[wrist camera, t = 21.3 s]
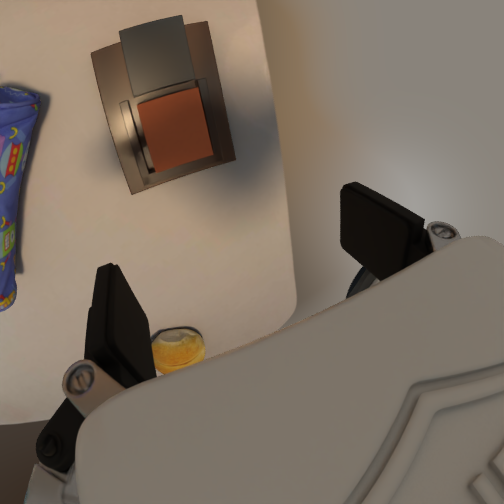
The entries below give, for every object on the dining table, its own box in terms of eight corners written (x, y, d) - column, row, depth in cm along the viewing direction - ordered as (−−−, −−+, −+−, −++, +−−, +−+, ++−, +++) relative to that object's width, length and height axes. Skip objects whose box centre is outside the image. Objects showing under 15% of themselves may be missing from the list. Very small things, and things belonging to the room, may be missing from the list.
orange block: (190, 89, 22) (198, 87, 19) (203, 147, 25) (213, 154, 22) (137, 104, 21) (136, 105, 18) (153, 163, 24) (156, 173, 21)
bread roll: (155, 368, 40) (159, 388, 37) (145, 331, 36) (148, 353, 32) (204, 360, 43) (210, 379, 40) (202, 322, 39) (209, 343, 35)
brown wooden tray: (204, 23, 19) (219, 9, 15) (232, 157, 28) (250, 169, 24) (92, 54, 17) (81, 45, 13) (131, 191, 26) (130, 210, 22)
